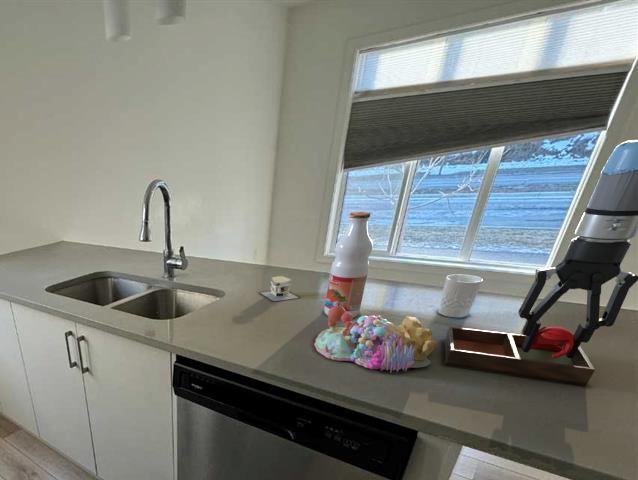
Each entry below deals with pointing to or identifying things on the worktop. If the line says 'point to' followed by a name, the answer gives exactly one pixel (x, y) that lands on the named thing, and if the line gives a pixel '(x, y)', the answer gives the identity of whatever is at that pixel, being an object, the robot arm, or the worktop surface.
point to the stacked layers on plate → (279, 289)
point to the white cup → (459, 294)
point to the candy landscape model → (376, 341)
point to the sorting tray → (513, 357)
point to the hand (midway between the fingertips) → (546, 352)
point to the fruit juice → (350, 266)
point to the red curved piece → (554, 340)
